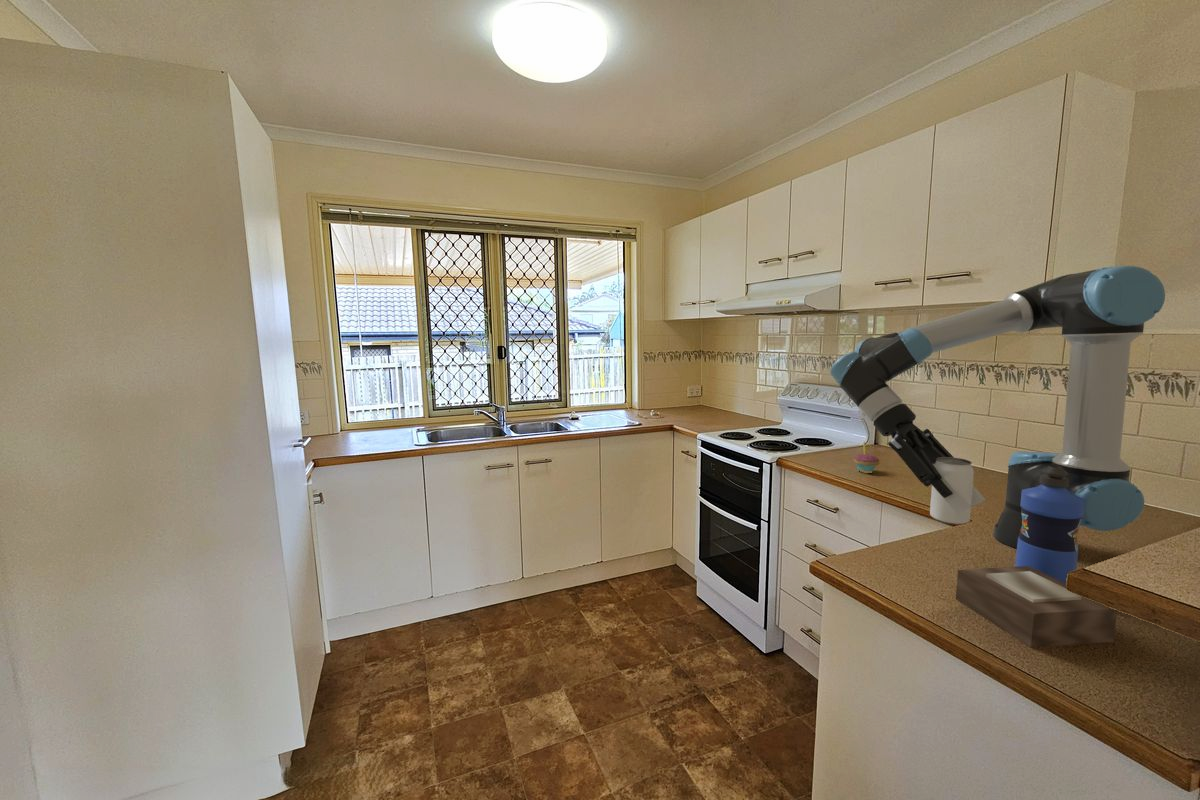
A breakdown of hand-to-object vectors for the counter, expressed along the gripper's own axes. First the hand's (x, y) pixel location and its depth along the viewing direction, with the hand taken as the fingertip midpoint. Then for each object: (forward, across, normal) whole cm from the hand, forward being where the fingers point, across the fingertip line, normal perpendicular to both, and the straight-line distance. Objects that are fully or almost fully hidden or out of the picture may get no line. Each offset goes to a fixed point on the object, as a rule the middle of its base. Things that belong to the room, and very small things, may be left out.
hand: (971, 506), depth 90 cm
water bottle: (+18, -20, -9) cm, 28 cm away
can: (0, 0, -5) cm, 5 cm away
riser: (+20, -1, -7) cm, 21 cm away
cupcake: (-28, -74, -56) cm, 96 cm away
